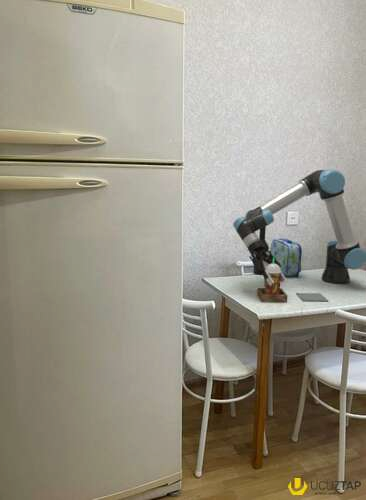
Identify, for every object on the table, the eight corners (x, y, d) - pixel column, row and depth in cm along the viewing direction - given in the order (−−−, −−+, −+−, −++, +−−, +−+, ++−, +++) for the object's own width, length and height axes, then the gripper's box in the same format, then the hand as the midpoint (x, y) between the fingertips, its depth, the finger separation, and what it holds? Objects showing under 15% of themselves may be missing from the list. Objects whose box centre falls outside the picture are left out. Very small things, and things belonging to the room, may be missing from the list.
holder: (281, 295, 200) (281, 288, 199) (287, 302, 188) (287, 295, 188) (256, 294, 200) (257, 287, 200) (261, 302, 188) (261, 294, 188)
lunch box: (302, 278, 235) (305, 242, 231) (285, 278, 233) (288, 243, 229) (283, 268, 260) (284, 236, 256) (267, 268, 258) (269, 236, 254)
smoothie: (260, 296, 198) (262, 256, 194) (277, 295, 199) (279, 256, 195) (265, 301, 190) (267, 259, 186) (282, 301, 191) (285, 259, 187)
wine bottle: (267, 275, 240) (270, 225, 234) (253, 274, 241) (255, 224, 236) (267, 272, 248) (270, 223, 242) (253, 271, 249) (255, 223, 244)
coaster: (320, 294, 202) (320, 293, 202) (328, 301, 190) (328, 300, 190) (296, 294, 202) (296, 292, 202) (302, 301, 190) (303, 300, 190)
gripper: (263, 246, 209) (287, 283, 199) (234, 251, 196) (258, 290, 186) (272, 238, 204) (296, 275, 194) (243, 241, 191) (268, 281, 181)
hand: (278, 282), depth 190 cm, fingers closed on smoothie, 8 cm apart
